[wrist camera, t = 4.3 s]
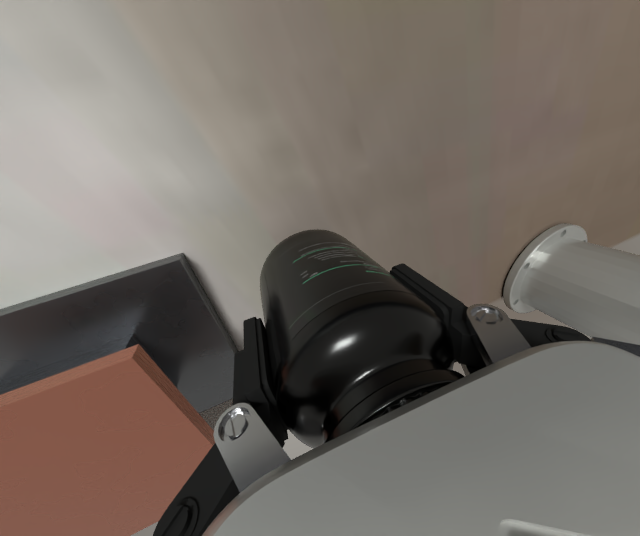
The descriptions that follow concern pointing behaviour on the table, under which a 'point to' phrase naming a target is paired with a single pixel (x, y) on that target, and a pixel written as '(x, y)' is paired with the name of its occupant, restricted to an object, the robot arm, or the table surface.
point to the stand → (107, 400)
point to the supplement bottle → (346, 337)
